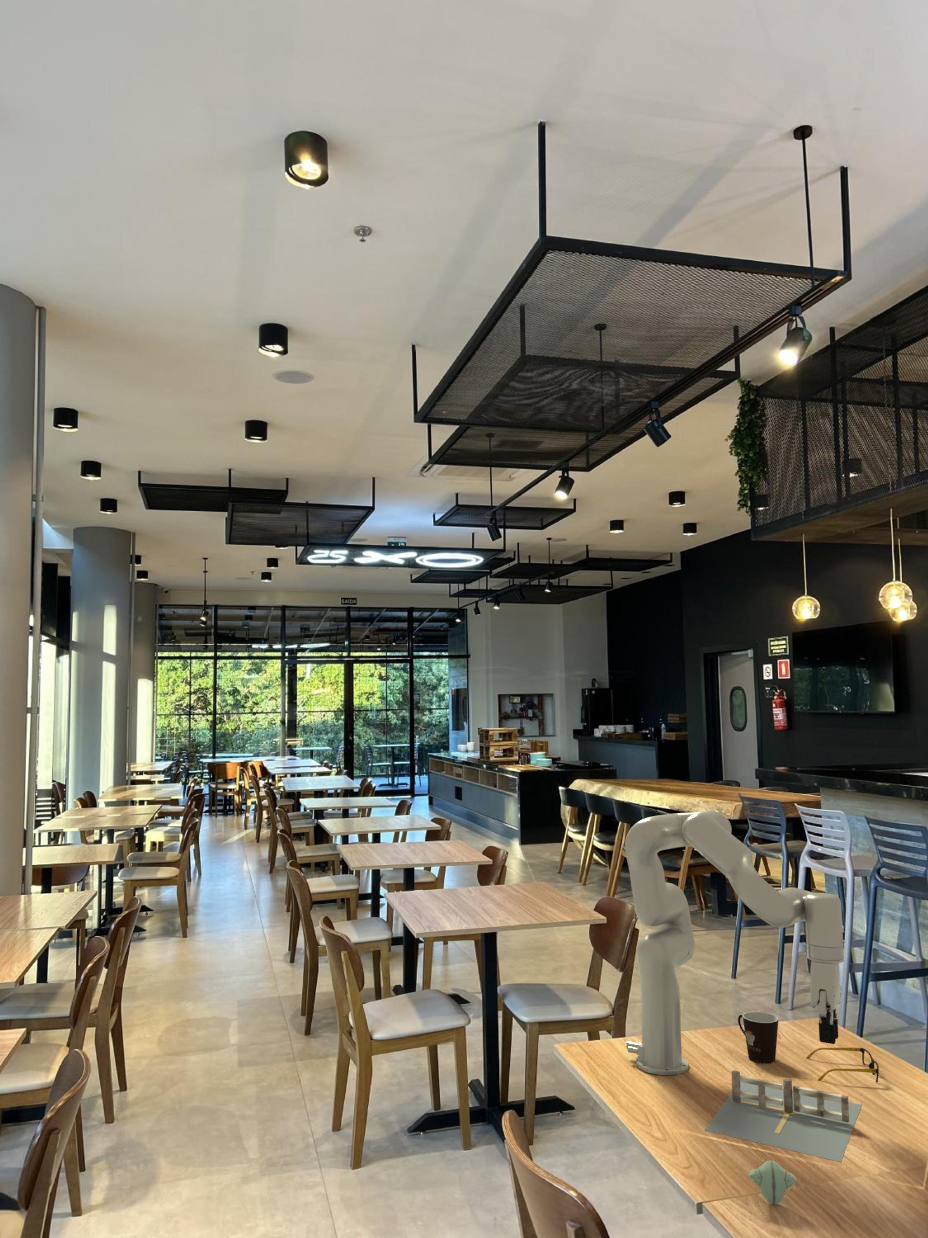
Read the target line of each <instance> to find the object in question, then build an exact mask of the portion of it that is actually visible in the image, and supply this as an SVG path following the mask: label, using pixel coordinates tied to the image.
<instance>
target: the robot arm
mask: <svg viewBox="0 0 928 1238" xmlns="http://www.w3.org/2000/svg"><path fill="white" fill-rule="evenodd" d="M732 829H733V828H732V825H731V823H730V820H729V819H728V818H727V817H726V816H725V815H724V814H723V813H721V812H719V811H715V810H707V811H698V812H680V813H679V812H678V813H667V814H660V815H654V816H649V817H646V818H643V819H641V820H639V821H637V822H636V823H635V824H633V825H632V826H631V827H630V829H629V830H628V832H627V834H626V837H625V841H624V851H625V857H626V860H627V866H628V871H629V876H630V885H631V886H630V887H631V892H632V898H633V906H634V911H635V914H636V915H635V916H636V918H637V919H638V920H639V921H638V922H640V924H642V925H644V926H646V927H649V928H650V927H657V928H658V930H656V931H653V932H650V933H648V934H646V935H644V936H643V937H642V938H641V939H640V941H639V942H638V944H637V947H636V953H635V957H636V962H637V963H636V964H637V968H638V975H639V984H640V985H639V986H640V1006H641V1008H640V1009H641V1010H640V1011H641V1012H640V1017H641V1042H639V1043H637V1042H635V1041H630V1040H628V1041H626V1049H627V1053H632V1054H636V1055H637V1057H636V1058H635V1064H636V1065H635V1066H637V1068H638V1069H640V1070H641V1071H644V1072H645V1073H649V1074H652V1075H658V1076H676V1075H679V1074H682V1073H685V1072H687V1071H688V1070H689V1061H688V1060H687V1059H686V1058H685V1057H683V1056H682V1054H683V1051H682V1048H683V1046H682V1017H681V1016H682V1015H681V1014H682V1010H681V992H680V991H681V990H680V983H679V980H678V976H677V973H676V969H677V968H679V967H681V966H683V965H686V964H687V963H689V962H690V961H691V960H692V958H693V956H694V954H695V938H694V931H693V924H692V919H691V913H690V908H689V907H690V906H689V903H688V900H687V897H686V895H685V893H684V891H683V890H682V889H681V888H680V887H679V886H677V885H676V884H674V883H670V882H667V881H666V879H665V871H664V867H663V864H662V861H661V860H660V858H659V856H658V853H659V852H661V851H664V850H670V849H676V848H682V847H683V848H684V847H692V849H694V850H696V851H697V852H698V853H699V854H700V855H701V856H702V857H704V858H705V859H706V860H707V861H708V862H709V863H710V864H711V865H713V866H714V867H715V868H716V869H717V870H718V871H719V872H721V873H722V874H723V875H724V876H725V877H726V878H727V879H728V882H729V884H730V885H731V887H732V888H733V890H734V892H735V894H736V895H737V896H738V898H739V899H740V901H742V902H743V904H744V905H745V906H746V907H748V908H749V909H750V910H751V911H752V912H753V913H754V914H755V915H756V916H758V917H759V918H760V919H761V920H762V921H764V922H765V923H766V924H767V925H768V924H769V925H770V926H772V927H775V928H779V929H780V928H781V929H783V928H788V927H790V926H792V925H794V924H798V923H802V922H805V938H806V939H805V940H806V958H807V959H808V960H810V975H809V979H810V980H809V981H810V983H809V984H810V985H809V986H810V987H809V989H810V993H809V997H810V999H809V1000H810V1005H809V1006H810V1007H811V1008H812V1009H815V1008H816V1007H817V1006H818V1037H819V1042H820V1043H825V1044H831V1045H835V1044H836V1040H837V1039H838V1038H839V1021H838V1019H837V1018H838V1009H837V1007H838V1005H839V1004H840V1001H841V976H840V975H841V974H840V964H841V963H843V962H845V958H844V955H845V954H844V936H843V914H842V913H843V912H842V901H841V899H840V898H839V896H837V895H835V894H833V893H826V892H812V891H808V890H805V889H802V888H798V887H785V888H783V889H779V890H777V889H776V888H774V887H773V885H770V883H768V881H766V880H765V879H764V878H763V877H762V876H761V875H760V874H759V872H758V871H757V870H756V868H755V867H754V866H755V865H754V863H753V862H754V861H753V852H752V849H750V848H749V847H748V846H747V845H745V844H744V843H743V842H742V841H741V840H739V839H738V838H737V837H735V835H733V834H732V831H733V830H732Z"/></svg>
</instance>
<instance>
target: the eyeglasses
mask: <svg viewBox="0 0 928 1238" xmlns="http://www.w3.org/2000/svg"><path fill="white" fill-rule="evenodd" d="M821 1050H824V1051H825V1050H826V1051H845V1052H846V1051H848V1052H849V1051H850V1052H859V1053H860V1052H861V1054H862V1055H861V1057H862V1059H861V1060H862V1061H861V1062H862V1064H863V1065H864V1066H866V1064H865V1053H867V1054H868V1056H869V1058H870V1060H871V1061H870V1063H869V1064H868V1068H832V1069H828V1070H827V1071H825V1072H824V1073H823V1074H822V1075H821V1076H819V1077H818V1078H817V1081H822V1080H823V1079H824V1078H825V1076H826V1075H827V1074H829V1073H831V1072H835V1071H838V1072H859V1073H867V1074H868V1073H871V1075H872V1076H873V1075H875V1074H876V1079H875V1083H878V1082H879V1074H880V1072H879V1069H880V1066H879V1064H878V1062H877V1061H876V1060H875V1059H874V1058H873V1056H872V1053H870V1051H868V1049H866V1048H864V1047H819V1048H816V1049H814V1050H813V1051H812V1052H811V1053H810V1054H808V1055H807V1056H806V1057H805V1059H806V1060H809V1059H810V1058H811V1057H812V1056H813V1055H814V1054H815V1053H816V1052H818V1051H821ZM875 1065H876V1068H875Z"/></svg>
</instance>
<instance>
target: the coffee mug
mask: <svg viewBox="0 0 928 1238" xmlns="http://www.w3.org/2000/svg"><path fill="white" fill-rule="evenodd" d="M741 1019H742V1022H743V1026H742V1024H741ZM737 1023H738V1026H739V1029H740V1030H741V1032H742V1034H743V1035H744V1037H745V1042H746V1043H745V1044H746V1049H747V1055H748V1056H747V1057H748V1059H749V1060H750V1061H752V1062H754V1063H757V1064H763V1065H767V1064H774V1063H775V1062H776V1057H777V1056H776V1055H777V1044H778V1042H777V1041H778V1033H779V1032H778V1030H779V1029H778V1028H779V1017H778V1016H777V1015H775V1014H772V1013H769V1012H764V1011H747V1012H744V1013H742V1014H740V1015H739V1016H738V1017H737Z"/></svg>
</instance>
